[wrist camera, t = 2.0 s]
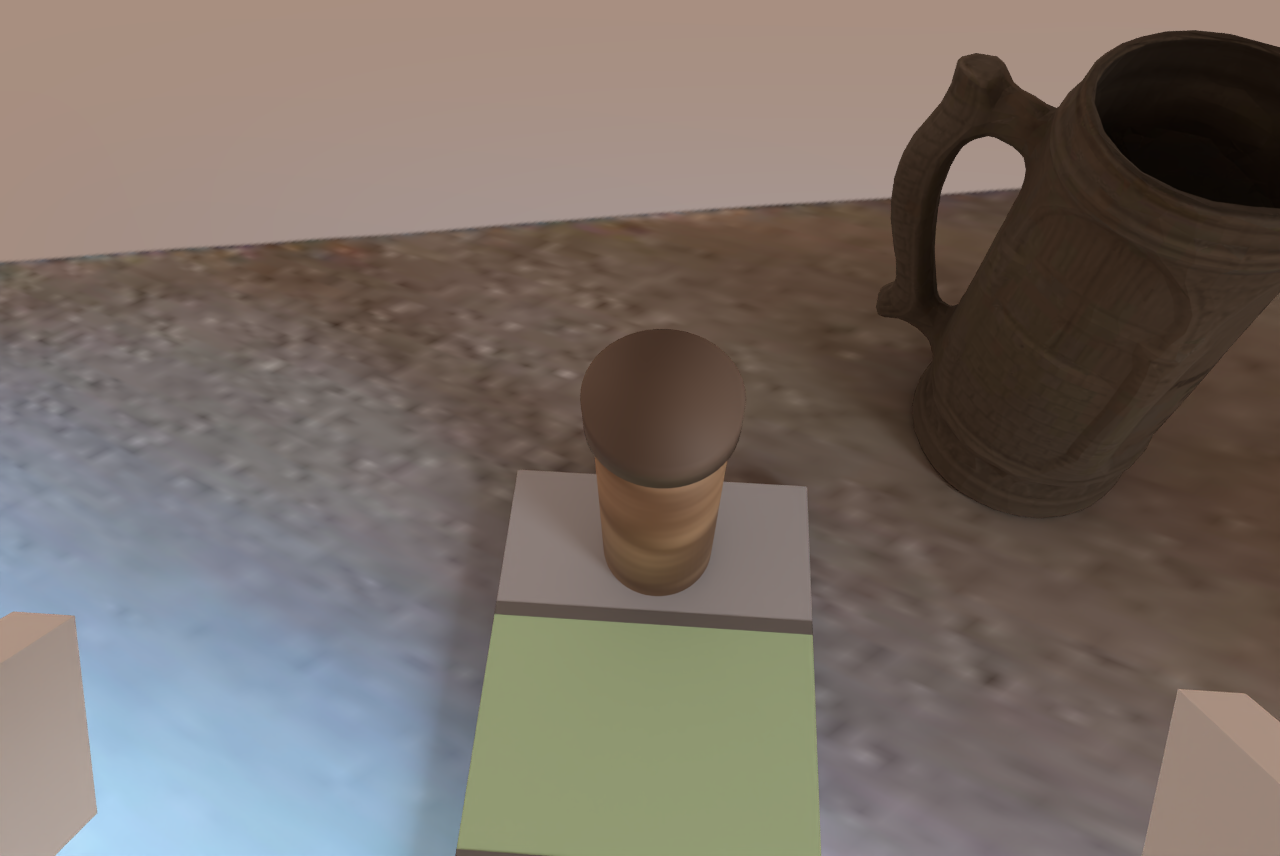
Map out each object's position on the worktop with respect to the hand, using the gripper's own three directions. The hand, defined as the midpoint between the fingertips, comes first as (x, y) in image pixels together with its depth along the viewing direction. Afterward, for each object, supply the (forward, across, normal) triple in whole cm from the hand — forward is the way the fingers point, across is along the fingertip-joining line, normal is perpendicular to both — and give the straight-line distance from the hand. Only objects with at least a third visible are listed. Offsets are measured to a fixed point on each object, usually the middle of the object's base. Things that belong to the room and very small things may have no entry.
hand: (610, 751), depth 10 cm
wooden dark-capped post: (+28, 0, -8) cm, 29 cm away
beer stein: (+36, +16, -3) cm, 40 cm away
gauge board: (+23, 0, -15) cm, 28 cm away
